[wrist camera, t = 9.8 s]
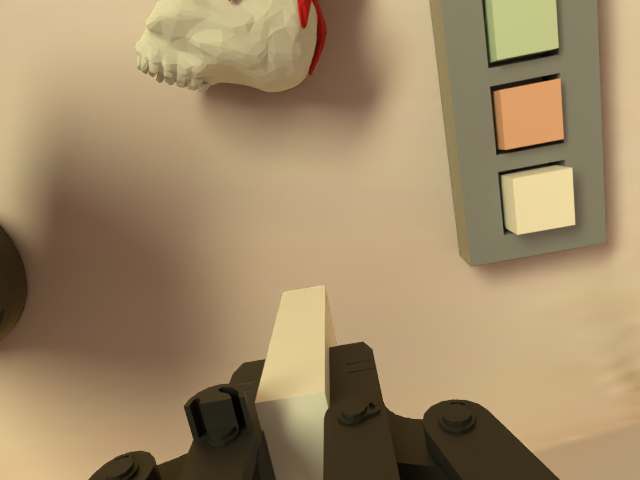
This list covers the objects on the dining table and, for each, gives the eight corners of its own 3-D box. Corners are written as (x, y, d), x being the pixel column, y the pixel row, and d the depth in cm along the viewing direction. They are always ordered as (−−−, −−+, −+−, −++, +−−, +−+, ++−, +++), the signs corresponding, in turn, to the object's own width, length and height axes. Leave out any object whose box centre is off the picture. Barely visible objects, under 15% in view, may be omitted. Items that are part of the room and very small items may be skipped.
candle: (152, 79, 37) (243, -92, 35) (273, 151, 38) (365, -11, 37) (104, 47, 28) (224, -183, 26) (264, 143, 29) (387, -73, 28)
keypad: (459, 255, 41) (470, 266, 38) (415, -113, 34) (425, -138, 31) (584, 233, 40) (606, 242, 37) (565, -147, 33) (590, -175, 30)
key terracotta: (492, 148, 37) (505, 149, 34) (487, 92, 36) (499, 90, 33) (547, 138, 37) (563, 138, 34) (543, 81, 36) (560, 78, 33)
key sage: (485, 64, 35) (497, 60, 33) (479, 3, 34) (491, -6, 32) (541, 53, 35) (558, 47, 33) (537, -9, 34) (554, -19, 32)
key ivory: (504, 227, 38) (517, 234, 35) (499, 175, 36) (512, 178, 34) (558, 218, 37) (575, 224, 35) (555, 164, 36) (572, 167, 34)
